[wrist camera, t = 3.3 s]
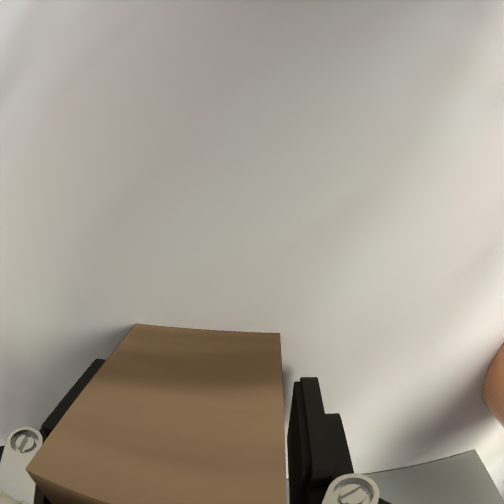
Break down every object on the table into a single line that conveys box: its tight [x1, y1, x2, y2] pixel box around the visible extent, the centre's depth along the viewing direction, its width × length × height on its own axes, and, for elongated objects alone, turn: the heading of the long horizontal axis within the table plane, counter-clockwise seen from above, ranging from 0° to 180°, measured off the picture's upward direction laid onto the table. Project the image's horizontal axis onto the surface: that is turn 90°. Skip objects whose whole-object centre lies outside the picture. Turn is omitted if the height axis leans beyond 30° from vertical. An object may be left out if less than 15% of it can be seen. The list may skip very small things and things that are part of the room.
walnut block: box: [25, 324, 287, 504], centre depth 8 cm, size 5×5×7 cm
